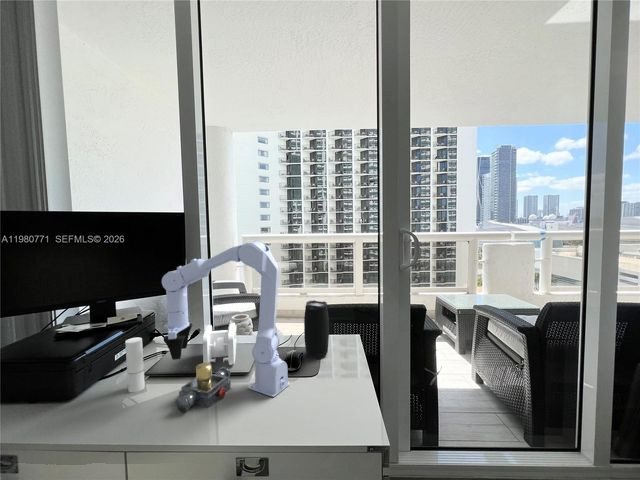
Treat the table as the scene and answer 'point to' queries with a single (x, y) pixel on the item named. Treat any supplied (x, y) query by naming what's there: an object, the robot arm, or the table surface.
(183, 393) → the valve body
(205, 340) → the cable organizer
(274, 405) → the table surface
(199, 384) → the brass cylinder
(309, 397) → the table surface
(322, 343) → the portable speaker
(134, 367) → the tube
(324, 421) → the table surface
